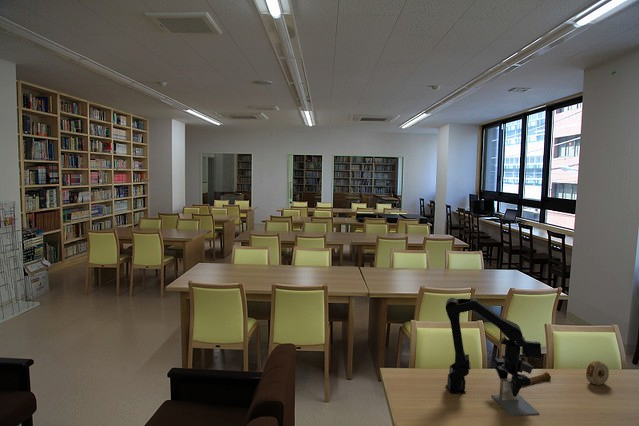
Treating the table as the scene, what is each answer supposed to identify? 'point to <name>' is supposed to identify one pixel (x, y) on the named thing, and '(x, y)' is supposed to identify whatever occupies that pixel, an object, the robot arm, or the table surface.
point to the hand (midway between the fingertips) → (509, 391)
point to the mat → (516, 406)
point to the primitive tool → (539, 378)
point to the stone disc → (597, 373)
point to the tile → (507, 390)
